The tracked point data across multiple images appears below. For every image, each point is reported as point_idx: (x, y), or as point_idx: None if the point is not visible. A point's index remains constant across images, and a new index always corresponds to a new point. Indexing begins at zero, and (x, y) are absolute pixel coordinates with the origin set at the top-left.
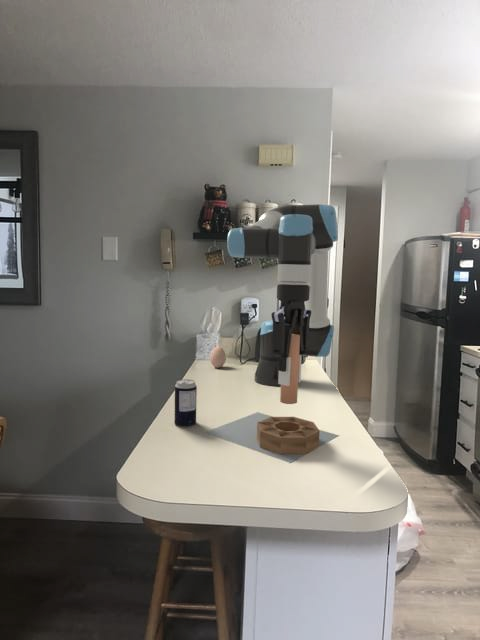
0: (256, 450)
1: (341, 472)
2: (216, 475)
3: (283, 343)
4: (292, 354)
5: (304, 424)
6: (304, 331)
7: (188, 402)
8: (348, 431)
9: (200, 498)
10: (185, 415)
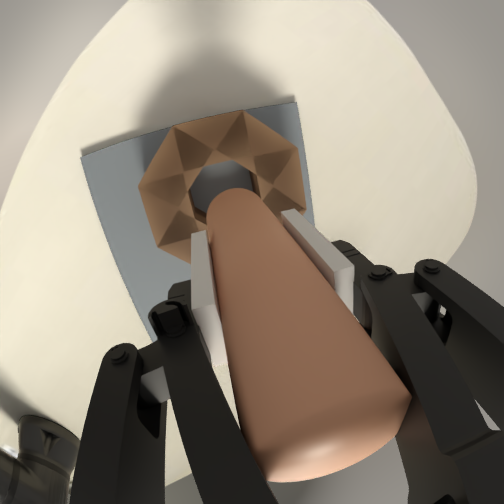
0: (309, 190)
1: (230, 23)
2: (409, 163)
3: (475, 305)
4: (327, 284)
5: (173, 183)
6: (128, 490)
7: None
8: (39, 178)
9: (451, 129)
10: None
